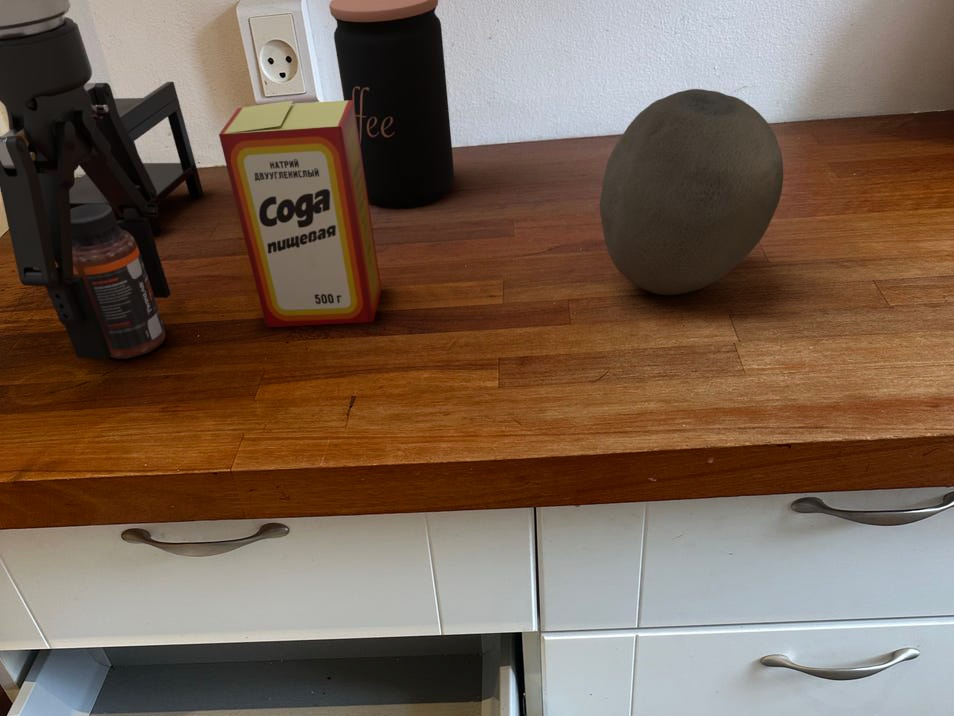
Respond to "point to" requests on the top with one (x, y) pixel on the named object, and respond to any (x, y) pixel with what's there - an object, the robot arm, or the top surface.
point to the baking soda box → (304, 211)
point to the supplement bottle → (115, 281)
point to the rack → (164, 176)
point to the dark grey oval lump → (689, 190)
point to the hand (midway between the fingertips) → (126, 324)
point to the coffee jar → (396, 97)
